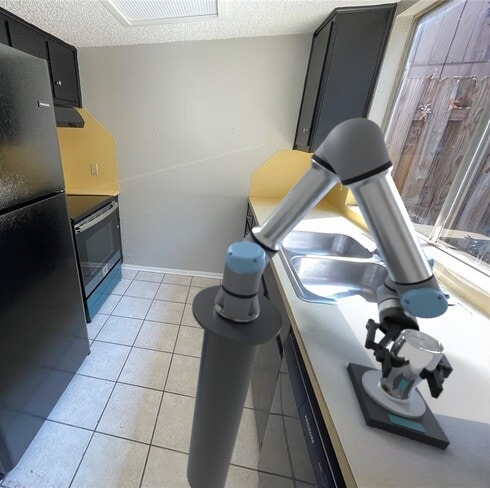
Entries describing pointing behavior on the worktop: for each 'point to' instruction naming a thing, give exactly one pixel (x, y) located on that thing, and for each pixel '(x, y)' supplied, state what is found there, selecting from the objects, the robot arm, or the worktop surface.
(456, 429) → the worktop surface
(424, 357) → the beer glass
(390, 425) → the scale
